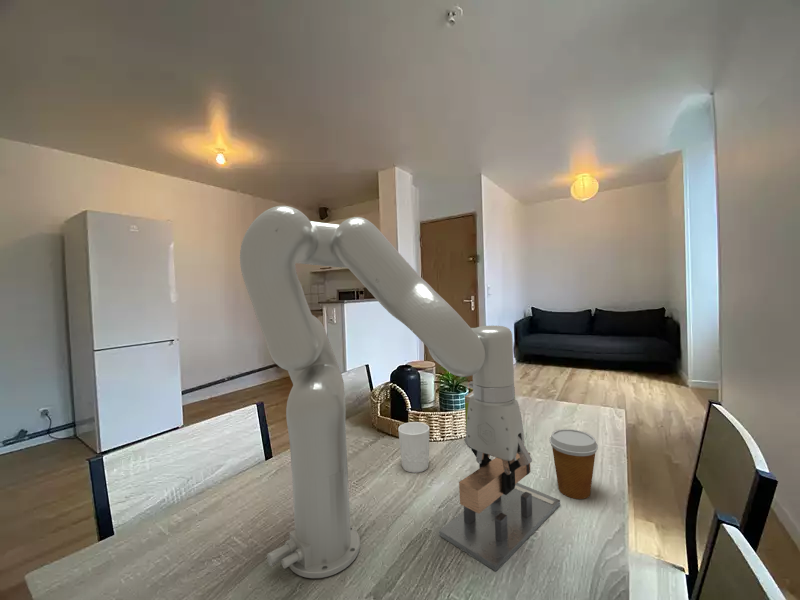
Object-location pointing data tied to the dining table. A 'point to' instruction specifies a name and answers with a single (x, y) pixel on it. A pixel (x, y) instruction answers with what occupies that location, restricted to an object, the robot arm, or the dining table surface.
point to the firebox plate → (500, 525)
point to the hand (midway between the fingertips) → (497, 485)
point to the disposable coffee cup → (574, 461)
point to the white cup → (414, 446)
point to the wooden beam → (486, 484)
